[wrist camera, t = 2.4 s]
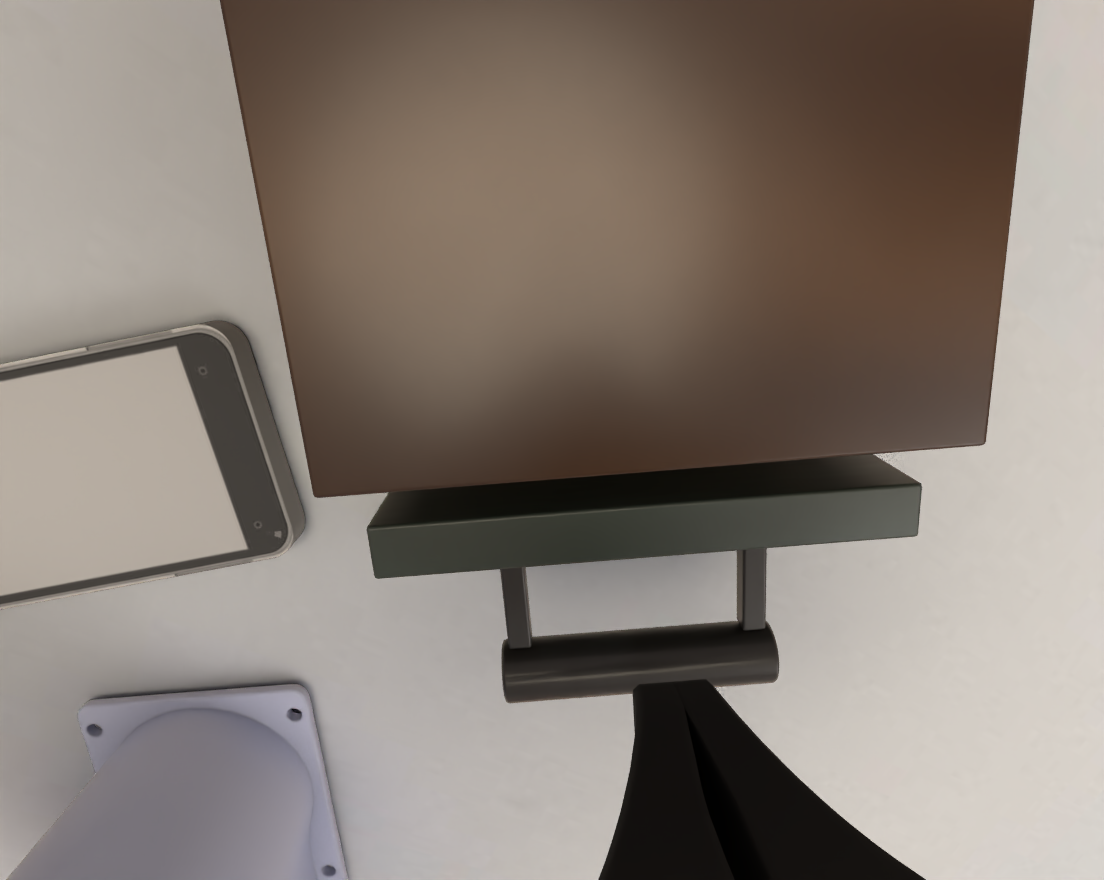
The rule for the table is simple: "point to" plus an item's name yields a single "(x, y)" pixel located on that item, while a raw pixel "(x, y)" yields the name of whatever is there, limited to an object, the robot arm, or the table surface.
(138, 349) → the smartphone
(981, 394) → the cabinet
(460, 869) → the table surface
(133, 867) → the robot arm
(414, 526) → the rack drawer
